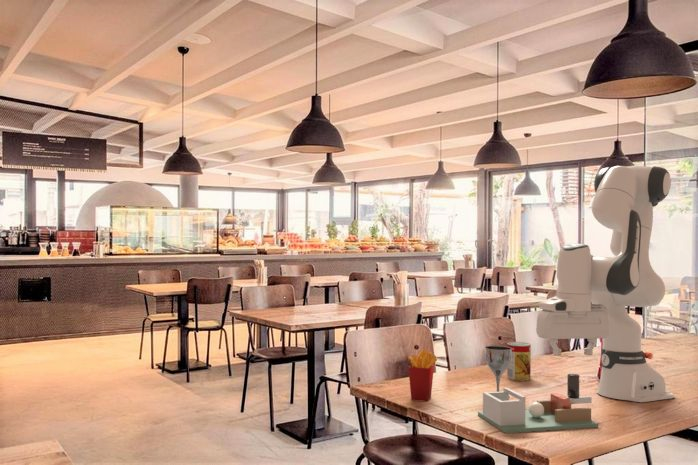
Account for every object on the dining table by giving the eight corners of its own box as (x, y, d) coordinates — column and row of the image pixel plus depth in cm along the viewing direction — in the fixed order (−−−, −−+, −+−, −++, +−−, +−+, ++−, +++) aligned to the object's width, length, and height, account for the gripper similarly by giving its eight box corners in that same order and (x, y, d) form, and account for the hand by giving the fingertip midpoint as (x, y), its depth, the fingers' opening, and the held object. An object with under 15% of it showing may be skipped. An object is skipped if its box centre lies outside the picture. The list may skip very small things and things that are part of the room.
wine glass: (512, 394, 191) (512, 346, 191) (510, 400, 183) (510, 350, 183) (486, 392, 193) (486, 344, 193) (483, 398, 186) (483, 348, 186)
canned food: (535, 379, 212) (535, 344, 212) (517, 381, 209) (517, 346, 209) (519, 374, 219) (519, 341, 219) (502, 376, 216) (502, 342, 216)
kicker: (583, 409, 169) (583, 371, 169) (596, 416, 163) (596, 376, 163) (550, 411, 167) (550, 373, 167) (562, 418, 161) (563, 378, 161)
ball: (539, 414, 165) (539, 399, 165) (547, 419, 161) (547, 403, 161) (525, 415, 164) (525, 400, 164) (533, 420, 160) (533, 404, 160)
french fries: (407, 400, 183) (407, 350, 183) (414, 393, 190) (414, 345, 190) (436, 403, 179) (436, 352, 180) (442, 396, 187) (442, 347, 187)
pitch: (563, 410, 173) (563, 382, 173) (598, 427, 157) (598, 396, 158) (478, 415, 167) (478, 386, 167) (505, 433, 152) (505, 401, 152)
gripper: (600, 302, 171) (599, 352, 170) (533, 302, 166) (532, 353, 166) (614, 305, 164) (614, 356, 164) (546, 304, 160) (545, 357, 159)
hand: (572, 355), depth 165 cm, fingers open, 8 cm apart
